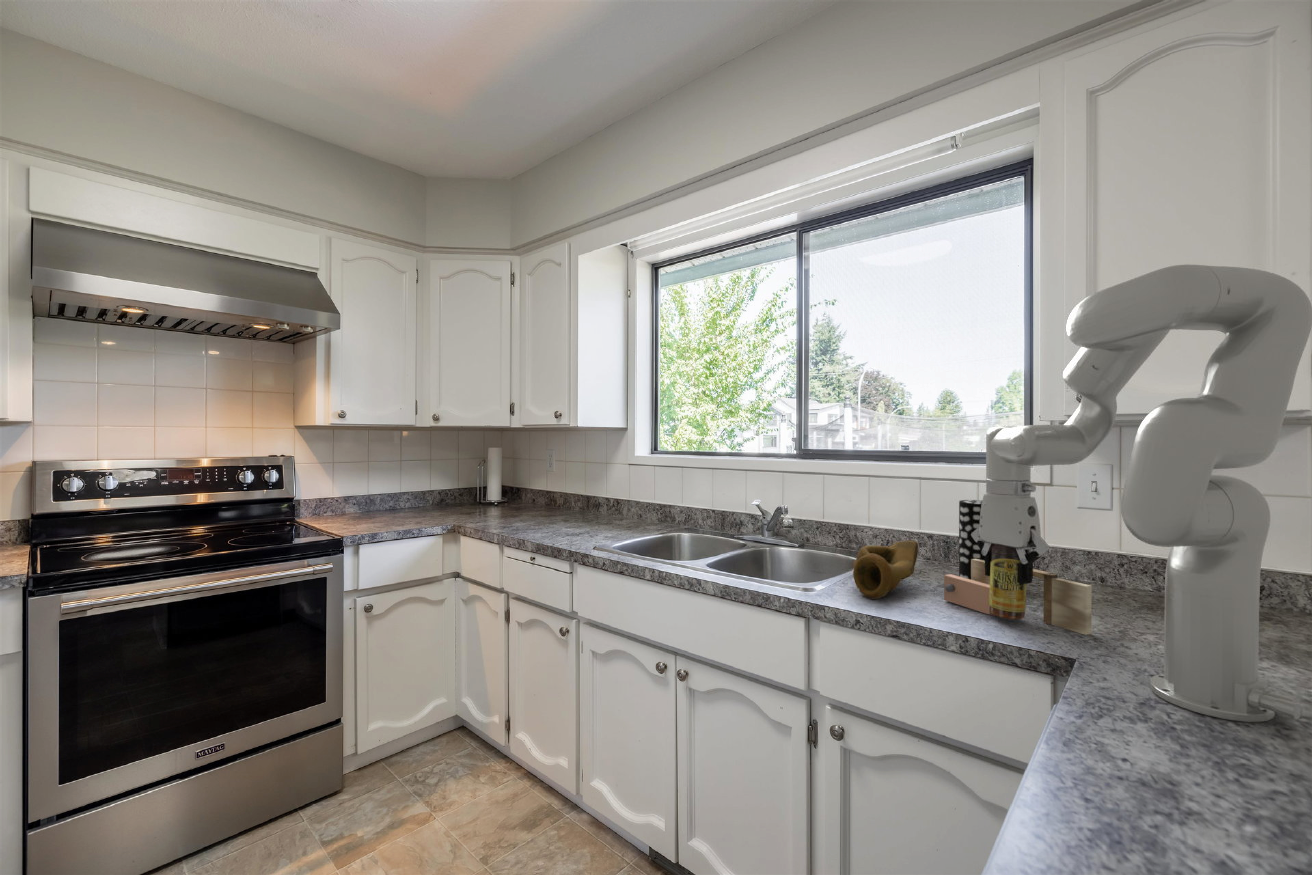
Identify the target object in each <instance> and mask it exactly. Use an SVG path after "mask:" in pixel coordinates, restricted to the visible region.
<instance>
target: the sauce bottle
mask: <svg viewBox="0 0 1312 875" xmlns="http://www.w3.org/2000/svg"><path fill="white" fill-rule="evenodd" d="M1025 553H1026V552H1025ZM1018 563H1021V560H1020V558H1019V555H1018V553H1017V550H1016V548H1011V547H1008V546H1005V545H1001V544H999V545H996V544H994V545H993V547H992V558H991V567H990V594H989V605H990V613H991V615H992V616H994V617H997V618H999V619H1006V620H1013V621H1014V620H1016V621H1017V620H1018V621H1020V620H1022V619H1023V618H1025V615H1026V614H1025V612H1026V608H1027V603H1026V602H1027V584H1019V583H1018Z"/></svg>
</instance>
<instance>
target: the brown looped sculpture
mask: <svg viewBox="0 0 1312 875" xmlns="http://www.w3.org/2000/svg"><path fill="white" fill-rule="evenodd" d="M918 545H919V544H918V542H917V541H915V540H903V541H897V540H896V541H894V542H893V544H892V545H890V546H886V545H885V546H884V545H864V546H862V547H861V548H859V550H858V551H857V556H856V559H855V560H854V561H853V562H852V567H853V572H852V576H853V579H854V583H855V586H856V587H857V589H858V591H859V592H860V593H861V594H862V595H863V596H865V597H866V598H869V599H872V600H879V599H882V598H883V597H885V596H886V595H887V594H888V593H890V592H892V591H894V590H895V589H897V587H898V586H899V585H900V582H902V581H903V580H905V579H907V578H909V577H910V576H912V575H913V574H914V572H915V566H916V563H917V558H918V554H919V546H918Z"/></svg>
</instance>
